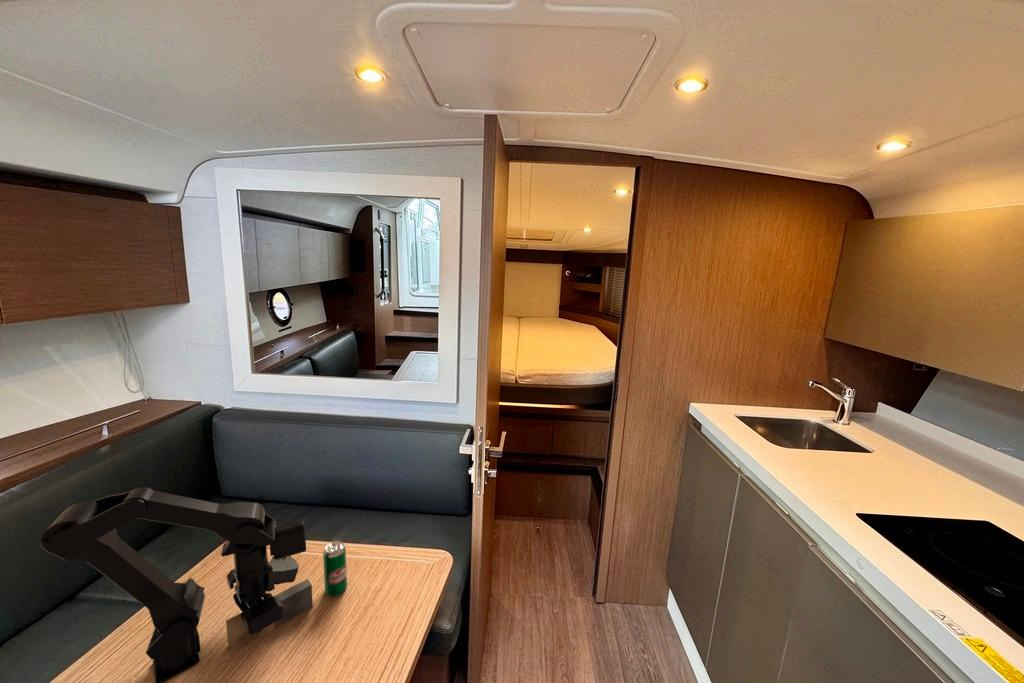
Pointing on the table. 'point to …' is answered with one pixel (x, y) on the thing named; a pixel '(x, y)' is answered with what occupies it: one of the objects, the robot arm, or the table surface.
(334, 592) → the soda can
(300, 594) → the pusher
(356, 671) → the table surface
